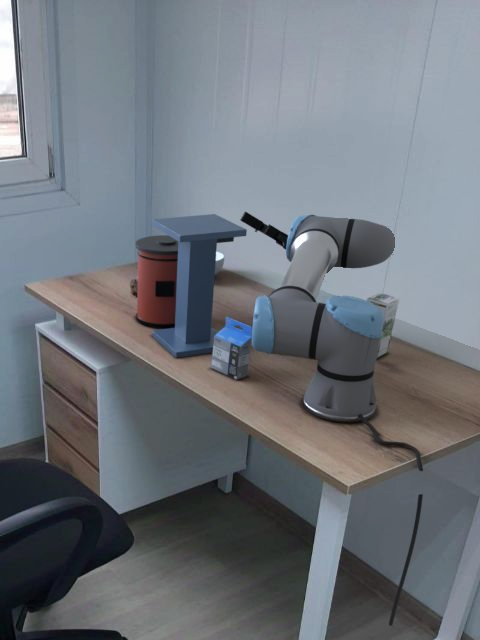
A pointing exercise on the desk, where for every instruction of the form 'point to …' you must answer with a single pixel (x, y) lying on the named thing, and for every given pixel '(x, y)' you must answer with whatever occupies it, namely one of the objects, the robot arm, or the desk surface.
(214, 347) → the label tape box
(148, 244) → the lid
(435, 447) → the desk surface
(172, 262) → the red banded canister
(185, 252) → the stand
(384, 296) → the syrup box
